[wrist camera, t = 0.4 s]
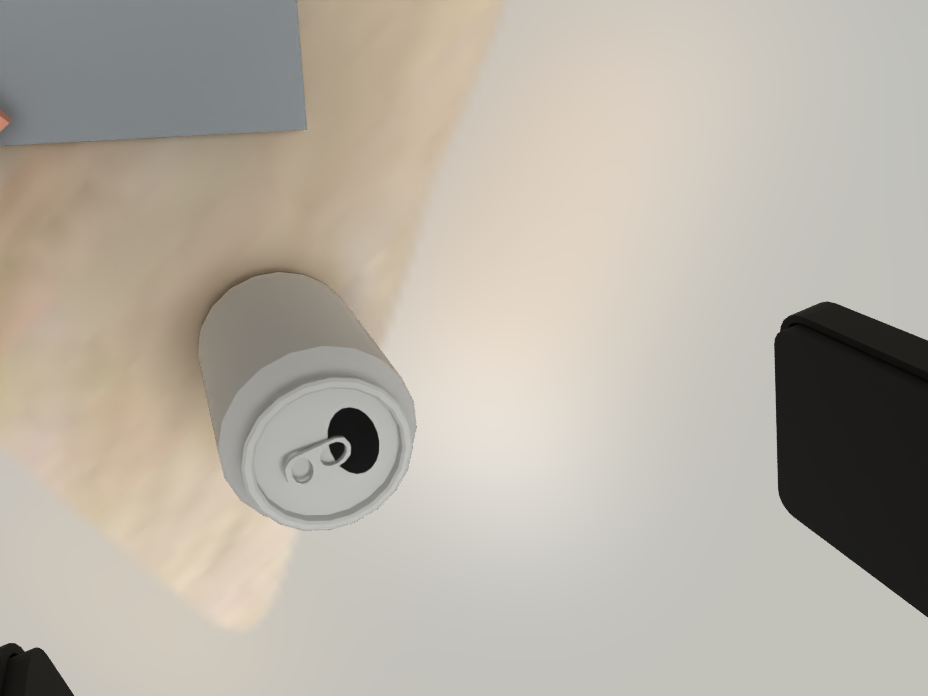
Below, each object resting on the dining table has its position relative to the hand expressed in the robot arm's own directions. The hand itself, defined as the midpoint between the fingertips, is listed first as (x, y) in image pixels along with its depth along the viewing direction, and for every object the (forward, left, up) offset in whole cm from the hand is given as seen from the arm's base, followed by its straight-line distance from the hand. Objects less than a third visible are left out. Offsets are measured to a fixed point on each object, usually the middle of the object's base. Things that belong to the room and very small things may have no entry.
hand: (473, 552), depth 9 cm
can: (+9, +2, -29) cm, 30 cm away
